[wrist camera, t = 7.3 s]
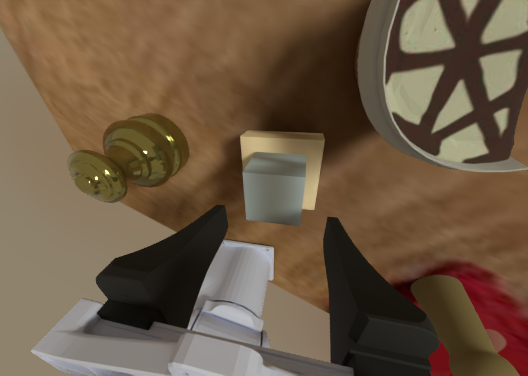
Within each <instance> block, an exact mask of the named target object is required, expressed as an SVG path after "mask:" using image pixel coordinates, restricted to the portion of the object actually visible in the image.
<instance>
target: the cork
mask: <svg viewBox="0 0 528 376" xmlns="http://www.w3.org/2000/svg"><path fill="white" fill-rule="evenodd" d="M411 292H412V294H413V296H414V297H415V299H416V300H417V302H418V304H419V305H420V307H421V309H422V310H423V311H424V312H425V313H426V314H427V316H428V318H429V319H430V321H431V323H432V324H433V326H434V328H435V330H436V332H437V335H438V336H439V338H440V340H441V341H442V343H443V345H444V346H445V348H446V349H447V351H448V353H449V354H450V359H449V365H450V369H451V372H452V374H453V376H520V375H519V374H518V372H517V371H516V369H515V368H514V367H513V366H512V365H511V364H510V363H509V362H508V361H507V360H506V359H504V358H503V357H501V356H500V355H498V354H497V352H496V350H495V348H494V346H493V345H492V342H491V340H490V339H489V336H488V334H487V333H486V331H485V329H484V327H483V325H482V323H481V321H480V319H479V317H478V315H477V313H476V311H475V309H474V307H473V305H472V303H471V301H470V299H469V297H468V295H467V293H466V291H465V289H464V287H463V285H462V283H461V282H460V281H459V280H458V279H456V278H454V277H451V276H446V275H431V276H426V277H422V278H420V279H418V280H416V281H415V282H414V283H413V284H412V285H411Z"/></svg>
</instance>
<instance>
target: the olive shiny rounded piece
mask: <svg viewBox="0 0 528 376" xmlns="http://www.w3.org/2000/svg"><path fill="white" fill-rule="evenodd" d="M103 149H104V153H105V156H103V155H101V154H99V153H97V152H94V151H90V150H79V151H76V152H74V153H73V154H71V155H70V156H69V158H68V170H69V172H70V175H71V177H72V179H73V181H74V182H75V185H76V186H77V187H78V188H79V189H80V190H81V191H82V192H84V193H86V194H87V195H89V196H91V197H93V198H95V199H97V200H100V201H103V202H108V203H115V202H118V201H120V200H122V199H123V198H124V197H125V195H126V193H127V182H126V180H127V181H129V182H132V183H134V184H136V185H139V186H142V187H157V186H160V185H162V184H164V183H165V182H167V180H168V179H169V178H170V177H172V176H174V175H175V174H176V173H177V172H178V171H179V170H180V169H182V168H183V167H184V166H185V165H186V163H187V161H188V158H189V148H188V144H187V141H186V138H185V137H184V135H183V133H182V132H181V130H180V129H179V128H178V127H177V126H176V125H175V124H174V123H173V122H172V121H170V120H169V119H167V118H166V117H163V116H161V115H158V114H153V113H148V114H143V115H140V116H134V117H131V118H129V119H127V120H121V121H117V122H114V123H112V124H111V125H110V126H108V128H107V129H106V130H105V132H104V135H103Z"/></svg>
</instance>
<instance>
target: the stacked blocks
mask: <svg viewBox="0 0 528 376" xmlns="http://www.w3.org/2000/svg"><path fill="white" fill-rule="evenodd" d="M240 140H241V153H242V165H243V172H242V173H243V185H244V197H245V210H246V220H252V221H261V222H269V223H277V224H285V225H293V226H300V223H301V214H302V209H309V210H314V208H315V201H316V195H317V188H318V182H319V175H320V169H321V162H322V156H323V149H324V143H325V139H324V136H323V133H303V132H279V131H255V130H247V131H246V132H245V133H244V134H242V135H241V136H240Z"/></svg>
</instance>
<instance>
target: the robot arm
mask: <svg viewBox="0 0 528 376" xmlns="http://www.w3.org/2000/svg"><path fill="white" fill-rule="evenodd" d="M227 229H228V222H227V216H226V209H225V206H224V205H216V206H215V207H213V208H212V209H211V210H209V211H208V212H207V213H205V214H204V215H203V216H201V217H200V218H198V219H197V220H196V221H194V222H193V223H191V224H190V225H188V226H187V227H185V228H184V229H182V230H180V231H179V232H177V233H176V234H174V235H172V236H170V237H168V238H166V239H164V240H162V241H160V242H158V243H156V244H153V245H151V246H149V247H146V248H144V249H141V250H139V251H136V252H133V253H130V254H127V255H124V256H121V257H118V258H115V259H114V260H113V261H112V262H111V263H110V264H109V265H108V266H107V267H106V268H105V269H104V270H103V271H102V272H101V273H100V274H99V275H98V276H97V277H96V284H97V285H98V287H99V288H100V289H101V291H102V292H103V293H104V294H105V296H106V297H107V298H108V300H107V302H106V303H105V304H102V303H100V302H98V301H93V300H89V299H85V298H83V299H81V300H80V301H79V302H78V303H77V304H76V305H75V306H74V307H73V308H72V309H71V310H70V311H69V312H68V313H67V314H66V315H65V316H64V317H63V318H62V319H61V320H60V321H59V322H58V323H57V324H56V325H55V326H54V328H52V329H51V330H50V331H49V332H48V333H47V334H46V335H45V337H43V338H42V340H40V342H39V343H38V344H37V345H36V346H35V347H34V348H33V349H32V350H31V352H32V353H33V354H35V355H37V356H38V357H40V358H41V359H43V360H45V361H46V362H48V363H49V364H51V365H53V366H54V367H56V368H58V369H59V370H60V371H63V372H66V373H69V374H72V375H75V376H431V374H430V372H429V371H431V370H432V369H431V368H432V367H431V365H430V362H429V360H428V357H429V356H430V355H431V354H433V353H434V352H435V351H436V350H437V348H438V347H439V345H440V339H439V337H438V335H437V332H436V330H435V328H434V326H433V324H432V323H431V321H430V319H429V318H428V316H427V314H426V313H425V312H424V311H422V310H421V309H420V308H418V307H417V306H416V305H414V304H413V303H412V302H410V301H409V300H408V299H407V298H405V297H404V296H403V295H402V294H401V293H399V292H398V291H397V290H396V289H395V288H394V287H392V286H391V285H390V284H389V283H388V282H387V281H386V280H385V279H384V278H383V277H382V276H381V275H380V274H379V273H378V272H377V271H376V270H375V269H374V268H373V267H372V266H371V265H370V264H369V262H368V261H367V260H366V259H365V258H364V257H363V255H362V254H361V253H360V251H359V250H358V249H357V247H356V246H355V245H354V243H353V242H352V240H351V239H350V237H349V236H348V234H347V233H346V231H345V230H344V228H343V226H342V224H341V223H340V221H339V219H338V218H334V217H328V218H327V223H326V228H325V233H324V238H323V249H324V259H325V267H326V274H327V281H328V289H329V307H330V341H331V363H329V362H324V361H320V360H316V359H312V358H308V357H303V356H299V355H295V354H290V353H286V352H282V351H278V350H274V349H270V341H269V338H268V335H267V332H266V331H264V330H262V326H263V320H261V314H262V308H263V304H264V299H265V293H266V288H267V283H268V280H273V275H274V248H273V247H271V246H265V245H258V244H251V243H244V242H237V241H230V240H224V237H225V235H226V232H227ZM223 242H224V243H223Z"/></svg>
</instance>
